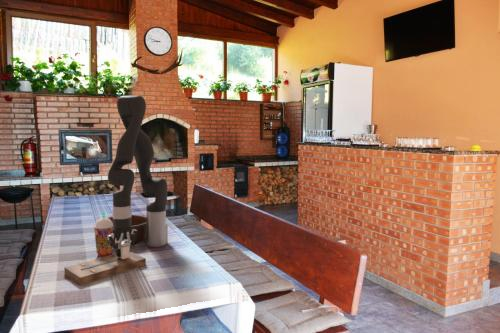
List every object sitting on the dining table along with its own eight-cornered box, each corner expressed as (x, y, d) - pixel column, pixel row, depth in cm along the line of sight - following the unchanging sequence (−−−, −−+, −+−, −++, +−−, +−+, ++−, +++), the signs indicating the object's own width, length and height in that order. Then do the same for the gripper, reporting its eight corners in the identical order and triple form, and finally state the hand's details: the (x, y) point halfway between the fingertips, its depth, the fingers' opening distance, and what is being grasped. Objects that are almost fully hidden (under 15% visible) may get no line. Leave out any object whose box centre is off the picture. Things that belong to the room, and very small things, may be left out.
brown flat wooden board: (128, 256, 175) (128, 249, 174) (145, 265, 165) (145, 257, 165) (64, 274, 154) (64, 266, 154) (80, 285, 145) (80, 276, 144)
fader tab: (123, 254, 168) (123, 240, 167) (130, 257, 164) (129, 243, 163) (116, 256, 165) (115, 242, 164) (122, 259, 162) (122, 245, 161)
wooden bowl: (136, 250, 184) (135, 229, 183) (88, 245, 189) (88, 225, 188) (158, 234, 208) (158, 216, 207) (116, 231, 213) (115, 212, 212)
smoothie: (93, 258, 172) (92, 214, 169) (95, 252, 180) (94, 209, 177) (113, 257, 174) (112, 213, 171) (115, 250, 182) (114, 209, 179)
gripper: (132, 211, 170) (133, 249, 172) (101, 217, 160) (102, 257, 162) (141, 214, 165) (142, 253, 167) (110, 220, 155) (111, 262, 157)
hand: (123, 255), depth 165 cm, fingers closed on fader tab, 3 cm apart
